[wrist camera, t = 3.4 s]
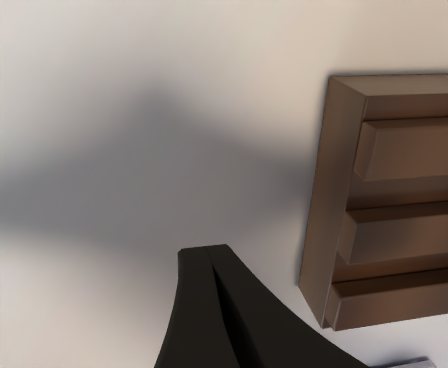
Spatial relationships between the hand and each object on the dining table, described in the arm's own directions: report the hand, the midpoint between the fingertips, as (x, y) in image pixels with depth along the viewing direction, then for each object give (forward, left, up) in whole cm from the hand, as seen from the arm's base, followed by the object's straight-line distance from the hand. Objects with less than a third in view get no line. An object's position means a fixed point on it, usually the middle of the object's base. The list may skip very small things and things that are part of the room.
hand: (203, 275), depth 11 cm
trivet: (+9, 0, -4) cm, 10 cm away
